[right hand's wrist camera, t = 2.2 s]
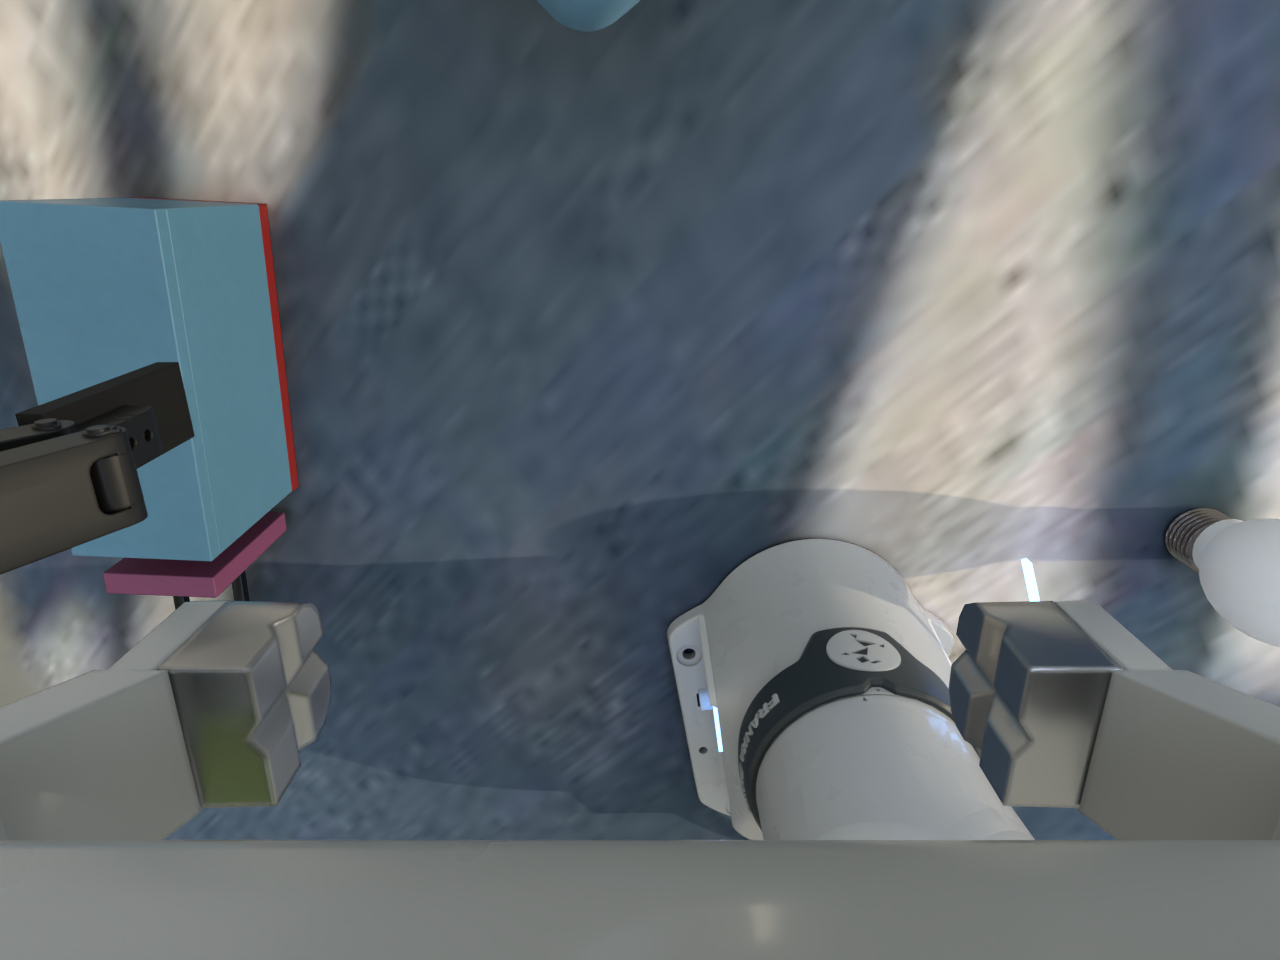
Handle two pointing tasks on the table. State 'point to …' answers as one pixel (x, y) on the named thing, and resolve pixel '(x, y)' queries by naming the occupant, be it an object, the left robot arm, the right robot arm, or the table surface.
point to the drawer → (197, 568)
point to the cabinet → (164, 348)
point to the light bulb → (1234, 567)
